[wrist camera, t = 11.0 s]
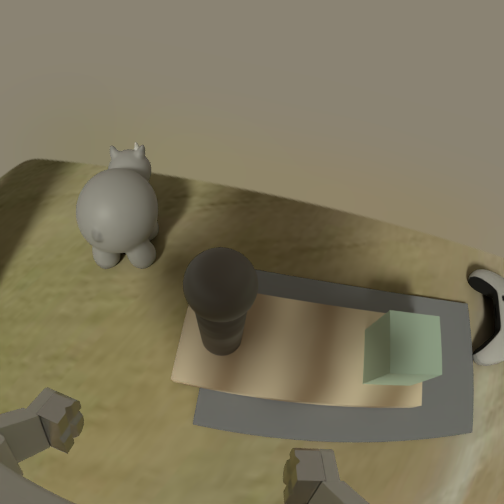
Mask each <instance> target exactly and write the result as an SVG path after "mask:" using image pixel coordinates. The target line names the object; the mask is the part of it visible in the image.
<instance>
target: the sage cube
mask: <svg viewBox="0 0 504 504" xmlns="http://www.w3.org/2000/svg"><path fill="white" fill-rule="evenodd" d="M440 375H442V347H441V329H440V316H433V315H424V314H416V313H409V312H401V311H394V310H389V311H388V312H387V313H386V314H384V315H383V316H382V317H381V318H379V319H378V320H377V321H376V322H374V323H373V324H372V325H371V326H369V327H368V328H367V329H366V330H365V345H364V368H363V384H375V385H404V386H411V385H414V384H417V383H420V382H423V381H426V380H429V379H432V378H435V377H437V376H440Z"/></svg>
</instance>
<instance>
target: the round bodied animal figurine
mask: <svg viewBox="0 0 504 504" xmlns="http://www.w3.org/2000/svg"><path fill="white" fill-rule="evenodd" d="M110 156H111V162H110V164H109V167H108V170H104V171H102V172H100V173H98V174H96V175H95V176H93V177H92V178H91V179H90V180H89V181H88V182H87V183H86V184H85V186H84V187H83V189H82V191H81V192H80V195H79V197H78V201H77V205H76V218H77V223H78V227H79V229H80V231H81V233H82V235H83V236H84V238H85V239H86V240H87V241H88V242H89V243H90V244H91V245H92V246H93V248H92V251H93V257H94V260H95V262H96V263H97V265H98V266H100V267H101V268H104V269H108V268H111V267H113V266H115V265H116V264H117V263H118V262H119V260H120V253H126V254H127V256H128V259H129V260H130V262H131V263H132V264H133V265H134V266H135V267H137V268H141V269H143V268H147V267H149V266H150V265H151V264H152V263H153V262H154V260H155V258H156V250H155V248H154V246H153V244H152V243H151V242H150V240H152V239H153V238H154V237H155V236H156V235H157V234H158V231H159V226H158V222H157V217H158V202H157V198H156V195H155V192H154V190H153V188H152V186H151V185H150V184H149V182H148V181H149V179H150V175H151V165H150V162H149V160H148V159H147V158H146V156H145V147H144V145H141V146H140V147H139V145H138V144H137V143H136V142H135V147H134V150H129V149H128V150H123V151H118V150H117V149H116V148H115V147H114V146H110Z"/></svg>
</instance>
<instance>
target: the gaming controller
mask: <svg viewBox="0 0 504 504" xmlns="http://www.w3.org/2000/svg"><path fill="white" fill-rule="evenodd" d="M468 283H469V284H470V286H471V287H472V288H473V289H475V290H476V291H478V292H480V293H482V294H484V295H486V296H488V297H491V298H493V307H494V318H495V334H494V335H493V336H492V337H491V338H490V339H489V340H488V341H487V342H485V343H484V344H483V345H481V346H480V347H479V348H478V349H476V350H475V351H474V353H473V354H472V356H473V361H474V362H475V363H476V364H478V365H484V366H487V365H493V364H497V363H500V362H502V361H504V278H503V277H501V276H500V275H498V274H496V273H494V272H492V271H489V270H486V269H478V270H475V271H474V272H472V273H471V274H470V276H469V278H468Z"/></svg>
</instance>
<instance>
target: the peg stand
mask: <svg viewBox="0 0 504 504" xmlns="http://www.w3.org/2000/svg"><path fill="white" fill-rule="evenodd" d="M183 290H184V295H185V298H186V300H187V302H188V304H189V305H188V309H187V313H186V317H185V321H184V325H183V329H182V333H181V337H180V341H179V345H178V350H177V354H176V358H175V363H174V367H173V371H172V376H171V380H173V381H174V382H178V383H182V384H186V385H191V386H195V387H200V388H205V389H210V390H215V391H220V392H226V393H231V394H237V395H243V396H249V397H256V398H263V399H270V400H278V401H286V402H295V403H304V404H315V405H328V406H344V407H368V408H413V407H418V406H422V382H420V383H417V384H414V385H411V386H404V385H375V384H363V368H364V345H365V330H366V329H367V328H368V327H369V326H371V325H372V324H373V323H374V322H376V321H377V320H378V319H379V318H381V317H382V316H383V315H384V314H386V313H381V312H374V311H367V310H359V309H352V308H345V307H339V306H332V305H325V304H319V303H312V302H306V301H300V300H294V299H287V298H281V297H275V296H269V295H264V294H258V293H257V292H258V279H257V274H256V271H255V269H254V267H253V265H252V264H251V262H250V261H249V260H248V259H247V258H246V257H245V256H244V255H242V254H241V253H239V252H237V251H235V250H233V249H229V248H223V247H218V248H212V249H208V250H206V251H203V252H202V253H200V254H199V255H197V256H196V257H195V258H194V259H193V260H192V261H191V262H190V264H189V265H188V267H187V269H186V272H185V275H184V280H183Z"/></svg>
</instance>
